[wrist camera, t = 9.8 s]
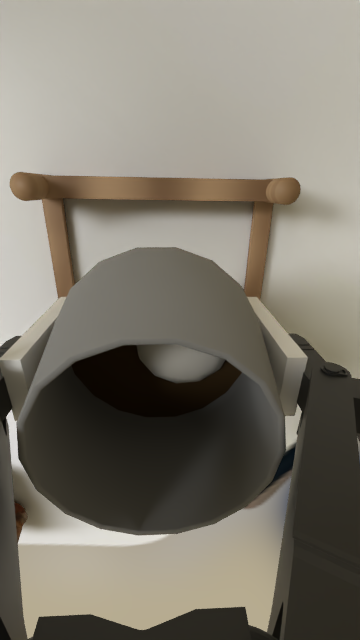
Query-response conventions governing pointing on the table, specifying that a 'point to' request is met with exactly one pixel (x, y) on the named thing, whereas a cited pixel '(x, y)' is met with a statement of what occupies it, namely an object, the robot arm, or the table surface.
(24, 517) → the rock
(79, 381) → the cup
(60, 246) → the frame
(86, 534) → the table surface
